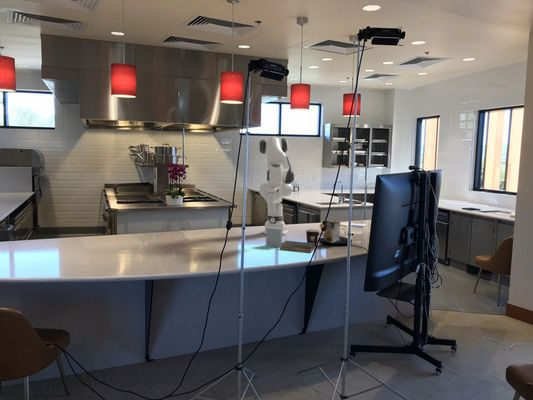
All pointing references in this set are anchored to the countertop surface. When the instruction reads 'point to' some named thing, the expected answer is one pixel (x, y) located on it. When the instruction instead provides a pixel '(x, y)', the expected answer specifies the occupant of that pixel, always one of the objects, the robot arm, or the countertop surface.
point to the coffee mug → (313, 236)
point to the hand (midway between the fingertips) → (274, 210)
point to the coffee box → (331, 231)
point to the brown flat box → (297, 246)
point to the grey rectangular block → (273, 237)
